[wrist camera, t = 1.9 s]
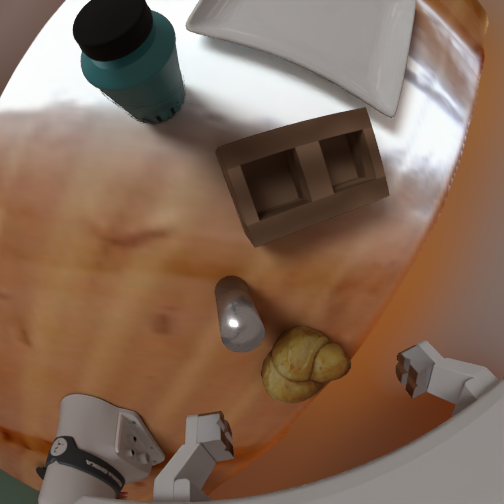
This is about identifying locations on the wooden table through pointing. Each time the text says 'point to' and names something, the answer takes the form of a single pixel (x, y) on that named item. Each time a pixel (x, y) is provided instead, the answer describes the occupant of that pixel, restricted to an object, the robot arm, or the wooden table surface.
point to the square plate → (323, 39)
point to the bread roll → (302, 364)
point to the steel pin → (238, 315)
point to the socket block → (303, 174)
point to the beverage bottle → (131, 57)
